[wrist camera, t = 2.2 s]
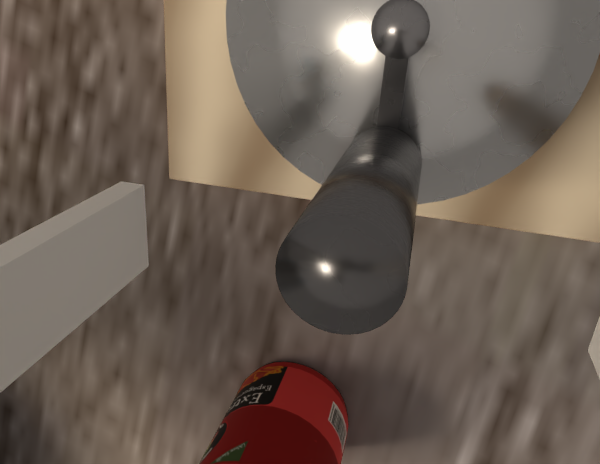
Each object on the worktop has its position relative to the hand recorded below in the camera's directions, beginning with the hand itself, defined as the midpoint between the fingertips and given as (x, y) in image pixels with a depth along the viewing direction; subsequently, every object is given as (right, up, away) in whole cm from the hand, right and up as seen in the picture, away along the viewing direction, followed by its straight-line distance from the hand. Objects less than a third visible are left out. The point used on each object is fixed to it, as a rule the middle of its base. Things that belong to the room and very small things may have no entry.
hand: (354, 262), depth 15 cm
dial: (+3, +10, +9) cm, 14 cm away
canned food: (-2, -11, +22) cm, 25 cm away
